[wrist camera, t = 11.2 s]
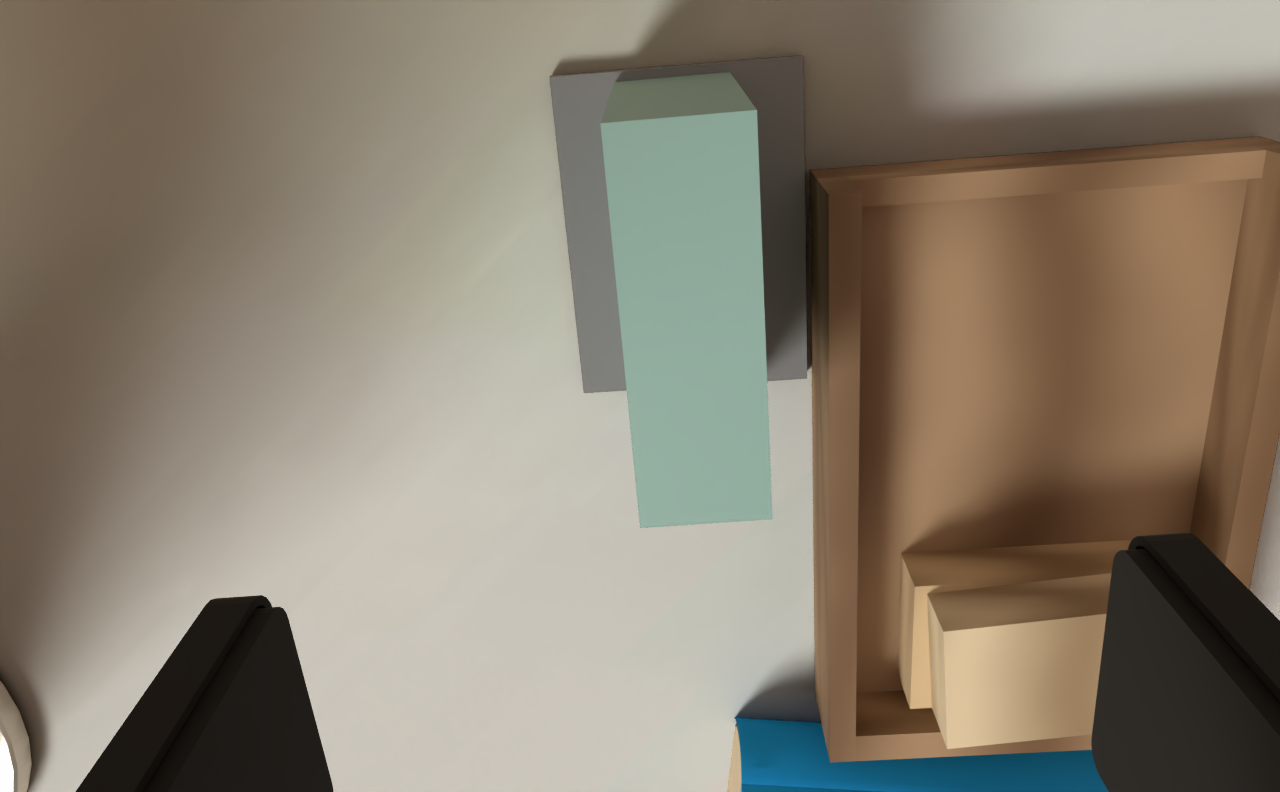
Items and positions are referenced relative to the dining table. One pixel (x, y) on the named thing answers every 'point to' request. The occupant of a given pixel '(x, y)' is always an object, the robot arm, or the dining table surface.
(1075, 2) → the dining table surface
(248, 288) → the dining table surface
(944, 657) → the offcut top
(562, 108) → the felt pad
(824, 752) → the book
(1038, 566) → the offcut low
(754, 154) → the block
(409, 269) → the dining table surface
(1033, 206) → the tray
